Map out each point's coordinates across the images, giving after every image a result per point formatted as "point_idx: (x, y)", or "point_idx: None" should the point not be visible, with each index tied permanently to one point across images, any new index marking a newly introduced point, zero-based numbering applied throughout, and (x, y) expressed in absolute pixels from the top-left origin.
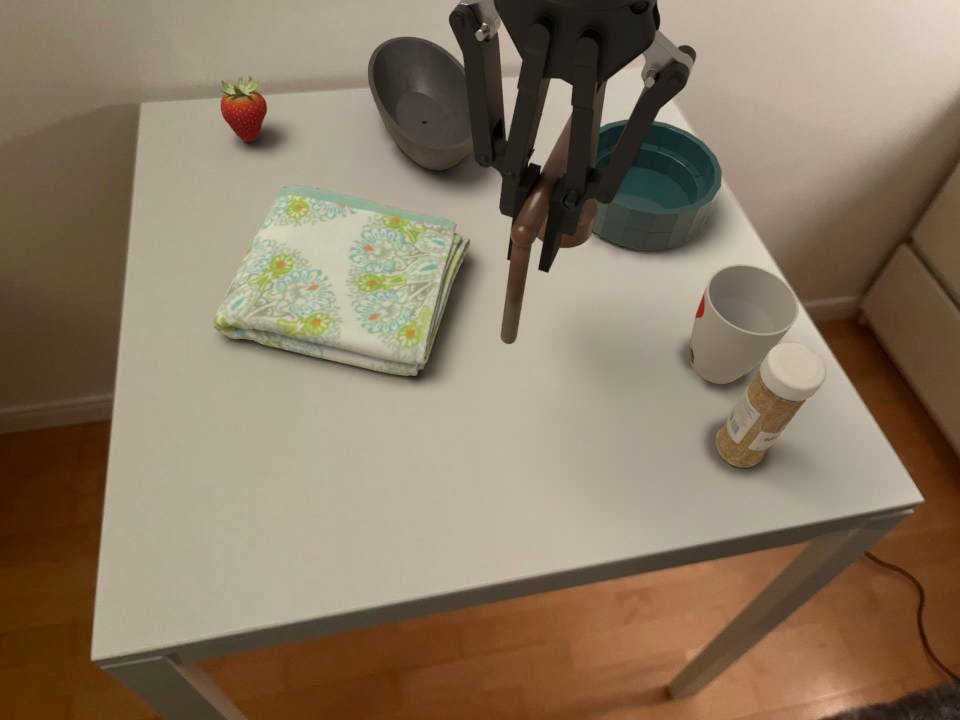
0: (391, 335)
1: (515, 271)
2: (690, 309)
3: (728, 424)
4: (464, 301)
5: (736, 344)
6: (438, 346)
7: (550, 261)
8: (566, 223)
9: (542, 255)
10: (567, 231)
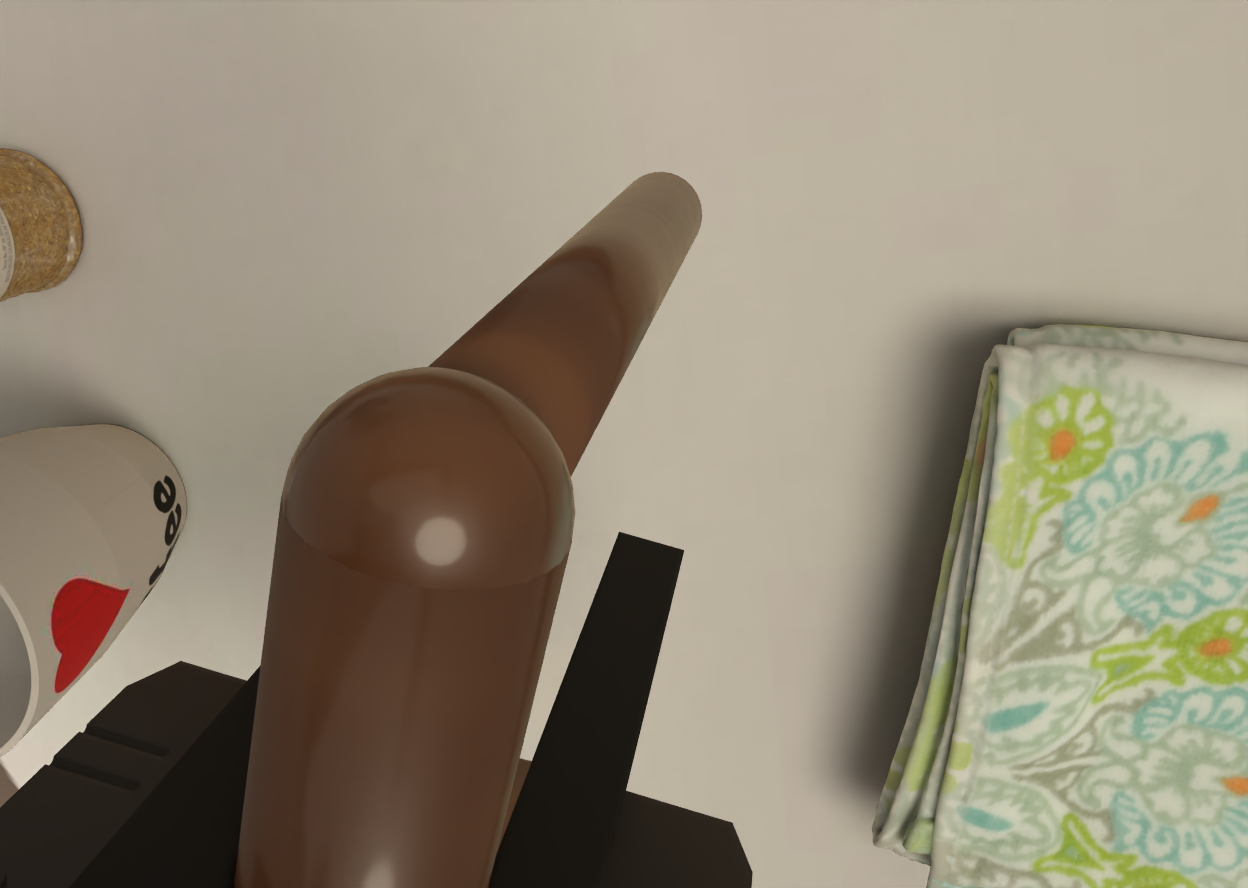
0: (1134, 431)
1: (561, 293)
2: (208, 660)
3: (1, 238)
4: (869, 631)
5: None
6: (941, 457)
7: None
8: (182, 743)
9: None
10: (203, 691)
